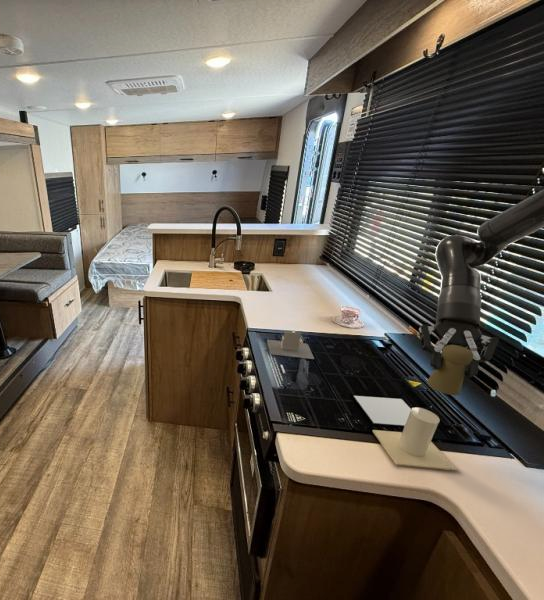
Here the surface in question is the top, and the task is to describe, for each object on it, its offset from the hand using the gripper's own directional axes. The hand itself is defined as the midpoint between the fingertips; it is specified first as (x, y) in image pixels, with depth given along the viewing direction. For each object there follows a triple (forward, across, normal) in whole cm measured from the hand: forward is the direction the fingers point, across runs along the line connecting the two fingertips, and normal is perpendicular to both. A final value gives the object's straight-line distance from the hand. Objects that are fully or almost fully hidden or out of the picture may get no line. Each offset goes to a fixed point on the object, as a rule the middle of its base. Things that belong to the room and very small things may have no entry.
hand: (453, 372), depth 71 cm
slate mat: (+10, -8, +16) cm, 20 cm away
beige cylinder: (+19, -4, +6) cm, 20 cm away
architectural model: (-5, -36, +32) cm, 48 cm away
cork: (+3, 0, +5) cm, 6 cm away
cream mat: (+19, -4, +6) cm, 21 cm away
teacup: (-31, -18, +58) cm, 68 cm away
